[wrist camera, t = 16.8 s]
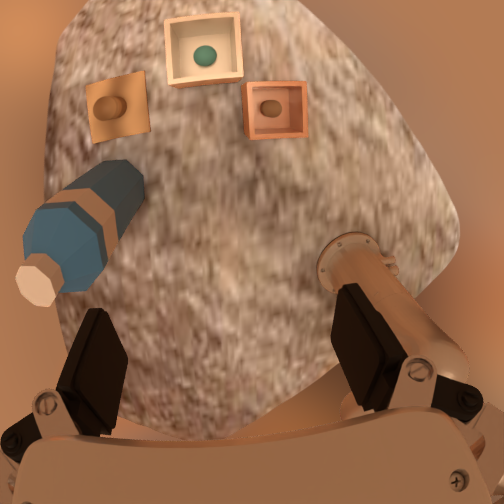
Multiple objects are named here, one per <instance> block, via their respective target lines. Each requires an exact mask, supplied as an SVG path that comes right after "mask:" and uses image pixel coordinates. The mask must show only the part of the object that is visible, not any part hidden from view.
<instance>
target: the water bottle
mask: <svg viewBox="0 0 504 504" xmlns="http://www.w3.org/2000/svg"><path fill="white" fill-rule="evenodd" d="M143 200H144V181H143V175H142V174H141V173H140V172H139V171H138V170H137V169H136V168H135V167H134V166H133V165H131V164H130V163H129V162H128V161H127V160H112V161H103V162H102V163H100V164H99V165H97V166H96V167H94V168H93V169H91V170H90V171H88V172H87V173H85V174H84V175H82V176H81V177H79V178H78V179H76V180H75V181H74V182H72V183H71V184H69V185H68V186H67V187H65V188H64V189H63V190H61V191H60V192H58V193H57V194H56V195H55V196H53V197H52V198H51V199H49V200H48V201H47V202H45V203H44V204H43V205H42V206H40V207H39V208H38V209H37V210H36V211H35V213H34V215H33V217H32V219H31V220H30V222H29V225H28V226H27V228H26V231H25V232H24V234H23V246H24V256H25V262H23V264H22V265H21V266H20V268H19V270H18V272H17V275H16V277H15V279H16V281H17V284H18V287H19V289H20V292H21V294H22V295H23V296H24V297H25V298H27V299H28V300H29V301H30V302H31V303H33V304H34V305H35V306H46V307H49V306H50V305H51V303H52V301H53V300H54V299H55V297H56V295H57V294H58V293H62V292H78V291H86V290H87V289H88V288H89V287H90V285H91V284H92V283H93V282H94V280H95V279H96V278H97V277H98V276H99V274H100V273H101V272H102V271H103V269H104V268H105V266H106V264H107V262H108V260H109V258H110V256H111V255H112V253H113V251H114V249H115V247H116V245H117V244H118V242H119V240H120V238H121V237H122V235H123V233H124V231H125V230H126V228H127V226H128V225H129V223H130V221H131V220H132V218H133V216H134V215H135V213H136V211H137V210H138V208H139V207H140V205H141V203H142V202H143Z"/></svg>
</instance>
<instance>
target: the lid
mask: <svg viewBox="0 0 504 504" xmlns="http://www.w3.org/2000/svg"><path fill="white" fill-rule="evenodd" d="M86 96H87V106H88V114H89V122H90V129H91V136H92V143H93V144H94V143H98V142H102V141H106V140H111V139H115V138H120V137H124V136H129V135H134V134H139V133H145V132H150V131H151V129H150V121H149V112H148V102H147V92H146V80H145V71H140V72H135V73H131V74H127V75H123V76H118V77H115V78H111V79H107V80H103V81H100V82H96V83H93V84H90V85H86Z"/></svg>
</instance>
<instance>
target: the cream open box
mask: <svg viewBox="0 0 504 504" xmlns="http://www.w3.org/2000/svg"><path fill="white" fill-rule="evenodd" d="M164 29H165V49H166V64H167V77H168V85H169V86H172V87H175V88H178V89H179V88H186V87H194V86H202V85H211V84H222V83H235V82H238V81H239V80H240V79H242V78H243V77H244V75H243V60H242V45H241V30H240V15H239V12H227V13H213V14H203V15H194V16H186V17H179V18H173V19H167V20H164ZM204 45H208V46H211V47H213V48H214V49H215V50H216V53H217V58H216V60H215V62H214V63H213V64H211V65H209V66H200V65H198V64H197V63H196V62H195V61H194V58H193V54H194V52H195V50H196V49H197V48H198V47H200V46H204Z"/></svg>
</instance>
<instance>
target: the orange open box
mask: <svg viewBox="0 0 504 504" xmlns="http://www.w3.org/2000/svg"><path fill="white" fill-rule="evenodd" d="M241 94H242V109H243V124H244V134H245V135H246V136H247V137H248V138H249V139H250V140H256V139H273V138H298V137H308V112H307V84H306V81H261V82H246V83H244V84H243V85H241ZM265 100H276V101H278V102H279V103H280V104H281V106H282V112H281V114H280V115H279V116H278V117H275V118H271V117H267V116H264V115H263V114H262V113H261V111H260V105H261V103H262V102H263V101H265Z"/></svg>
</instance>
